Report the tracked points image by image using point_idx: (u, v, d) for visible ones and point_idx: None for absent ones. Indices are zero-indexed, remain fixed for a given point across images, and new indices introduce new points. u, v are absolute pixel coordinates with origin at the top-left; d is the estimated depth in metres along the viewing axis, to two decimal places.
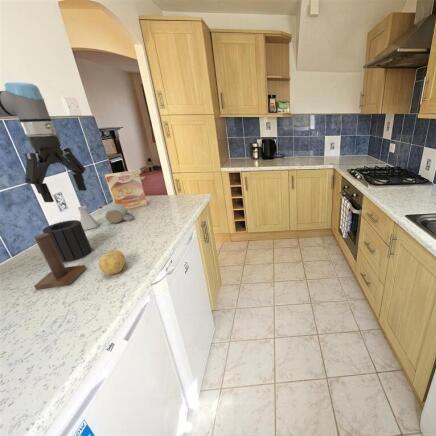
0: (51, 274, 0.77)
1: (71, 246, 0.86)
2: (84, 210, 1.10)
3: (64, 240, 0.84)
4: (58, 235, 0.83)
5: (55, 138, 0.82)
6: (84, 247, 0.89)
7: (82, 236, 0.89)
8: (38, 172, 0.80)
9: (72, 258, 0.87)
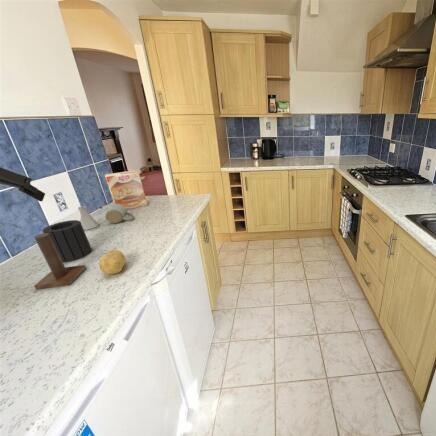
0: (51, 274, 0.77)
1: (71, 246, 0.86)
2: (84, 210, 1.10)
3: (64, 240, 0.84)
4: (58, 235, 0.83)
5: None
6: (84, 247, 0.89)
7: (82, 236, 0.89)
8: None
9: (72, 258, 0.87)
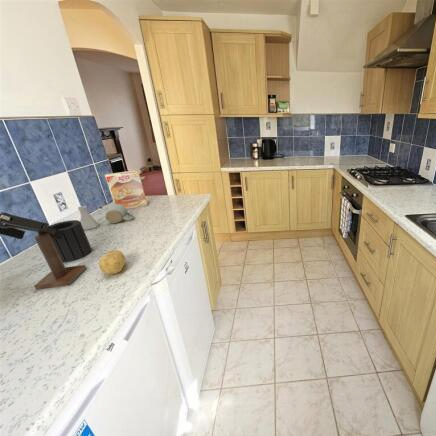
0: (51, 274, 0.77)
1: (71, 246, 0.86)
2: (84, 210, 1.10)
3: (64, 240, 0.84)
4: None
5: None
6: (84, 247, 0.89)
7: (82, 236, 0.89)
8: None
9: (72, 258, 0.87)
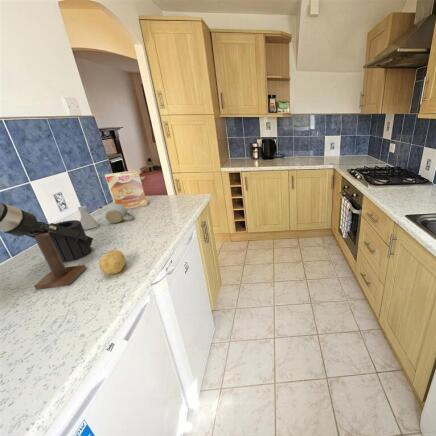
0: (51, 274, 0.77)
1: (71, 246, 0.86)
2: (84, 210, 1.10)
3: (64, 240, 0.84)
4: None
5: (11, 233, 0.71)
6: (84, 247, 0.89)
7: None
8: None
9: (72, 258, 0.87)
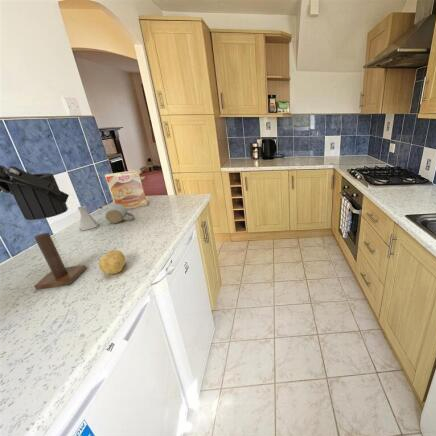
0: (51, 274, 0.77)
1: (41, 200, 0.72)
2: (84, 210, 1.10)
3: (31, 192, 0.71)
4: None
5: None
6: (57, 204, 0.76)
7: None
8: None
9: (42, 215, 0.73)
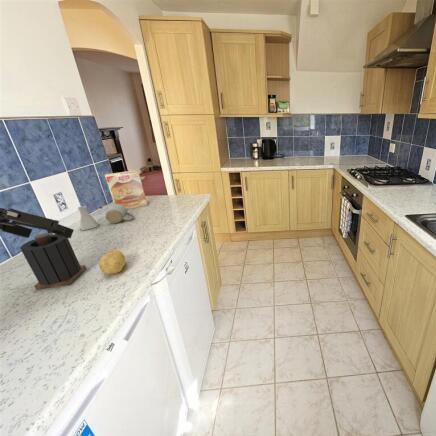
0: None
1: (55, 266, 0.71)
2: (84, 210, 1.10)
3: (46, 259, 0.70)
4: (39, 253, 0.68)
5: None
6: (71, 266, 0.75)
7: (69, 253, 0.75)
8: None
9: (56, 280, 0.73)
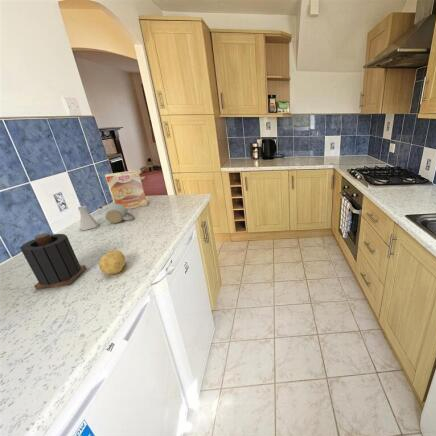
0: None
1: (55, 266, 0.71)
2: (84, 210, 1.10)
3: (46, 259, 0.70)
4: (39, 253, 0.68)
5: None
6: (71, 266, 0.75)
7: (69, 253, 0.75)
8: None
9: (56, 280, 0.73)
